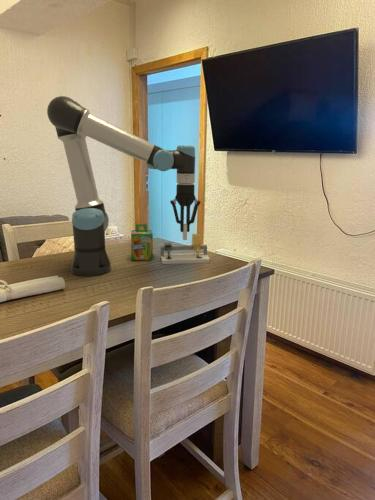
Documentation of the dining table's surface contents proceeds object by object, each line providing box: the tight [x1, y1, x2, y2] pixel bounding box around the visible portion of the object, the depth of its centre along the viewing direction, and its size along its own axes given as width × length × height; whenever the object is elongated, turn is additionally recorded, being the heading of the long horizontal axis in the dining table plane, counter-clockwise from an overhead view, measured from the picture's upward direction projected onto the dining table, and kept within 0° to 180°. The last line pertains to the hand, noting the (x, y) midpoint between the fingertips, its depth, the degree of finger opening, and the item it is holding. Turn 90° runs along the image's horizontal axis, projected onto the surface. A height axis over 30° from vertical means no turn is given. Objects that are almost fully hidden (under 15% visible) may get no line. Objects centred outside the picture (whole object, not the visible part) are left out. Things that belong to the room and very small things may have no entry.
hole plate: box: [160, 244, 211, 265], centre depth 163 cm, size 20×10×6 cm, turn 97°
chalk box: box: [130, 223, 154, 261], centre depth 166 cm, size 9×9×15 cm
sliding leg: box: [191, 233, 201, 257], centre depth 164 cm, size 3×8×8 cm, turn 7°
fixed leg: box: [163, 242, 173, 259], centre depth 163 cm, size 3×8×5 cm, turn 7°
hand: (184, 239), depth 165 cm, fingers closed
